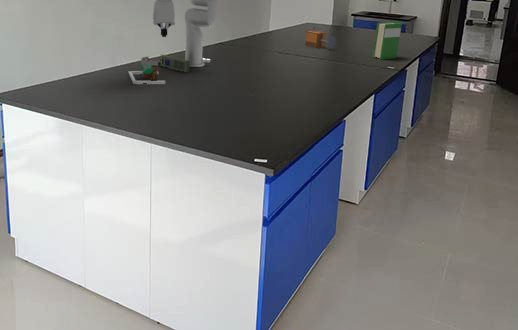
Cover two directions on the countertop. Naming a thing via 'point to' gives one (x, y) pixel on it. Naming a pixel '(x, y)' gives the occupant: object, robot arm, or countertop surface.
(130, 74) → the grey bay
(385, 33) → the hardback book
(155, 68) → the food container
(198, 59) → the robot arm
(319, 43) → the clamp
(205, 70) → the countertop surface
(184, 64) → the handheld radio
